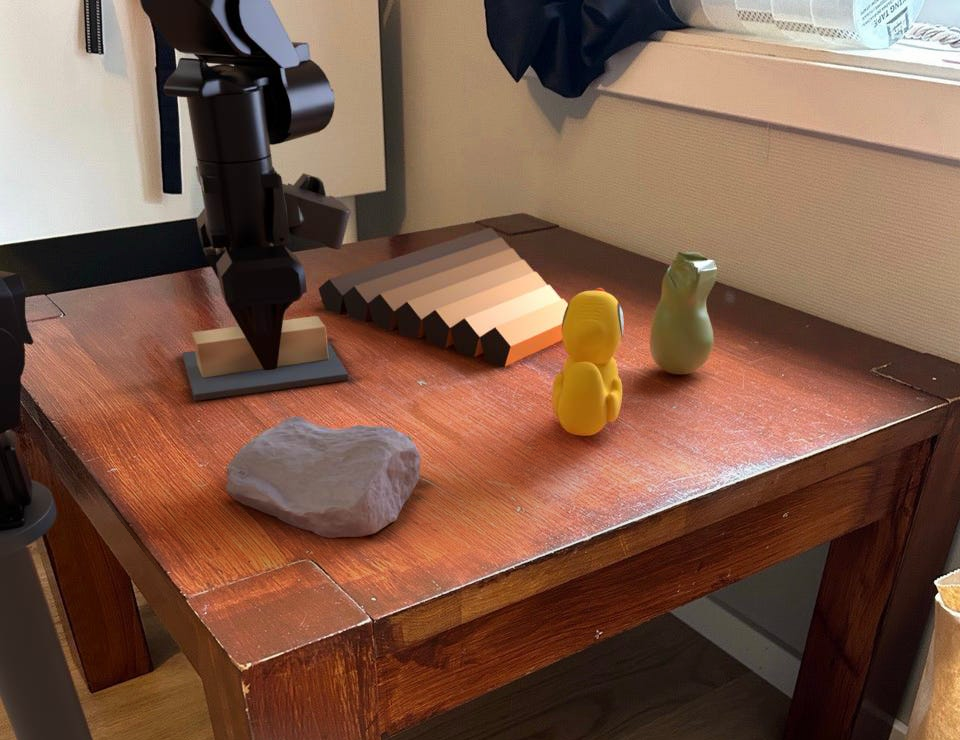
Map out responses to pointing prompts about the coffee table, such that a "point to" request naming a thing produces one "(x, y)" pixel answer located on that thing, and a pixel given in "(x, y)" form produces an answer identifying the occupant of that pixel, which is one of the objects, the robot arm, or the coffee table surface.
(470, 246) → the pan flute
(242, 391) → the grey mat
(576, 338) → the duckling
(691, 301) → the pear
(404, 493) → the stone block
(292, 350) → the maple bar
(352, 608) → the coffee table surface
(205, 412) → the coffee table surface
